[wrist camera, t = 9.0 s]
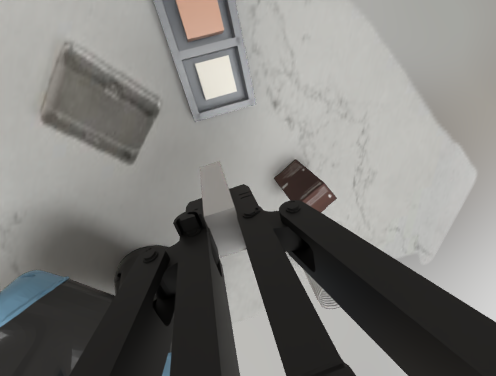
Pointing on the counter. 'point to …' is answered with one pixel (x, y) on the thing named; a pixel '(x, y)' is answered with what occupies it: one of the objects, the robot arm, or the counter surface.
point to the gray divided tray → (206, 50)
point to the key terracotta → (200, 18)
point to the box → (304, 186)
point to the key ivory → (216, 77)
